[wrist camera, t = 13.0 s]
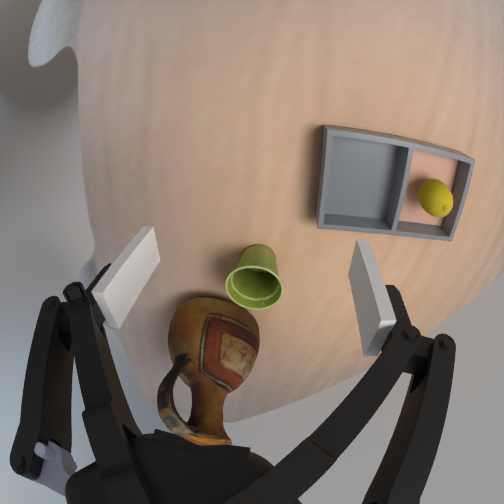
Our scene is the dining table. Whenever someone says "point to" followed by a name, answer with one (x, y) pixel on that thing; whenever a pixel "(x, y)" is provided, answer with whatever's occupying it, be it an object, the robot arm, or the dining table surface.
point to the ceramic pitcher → (207, 365)
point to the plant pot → (255, 279)
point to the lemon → (435, 197)
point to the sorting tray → (386, 183)
